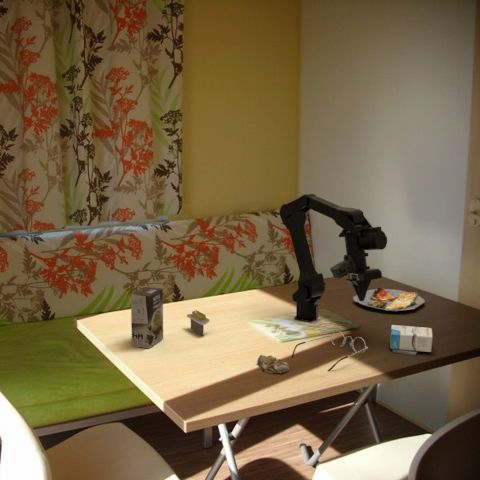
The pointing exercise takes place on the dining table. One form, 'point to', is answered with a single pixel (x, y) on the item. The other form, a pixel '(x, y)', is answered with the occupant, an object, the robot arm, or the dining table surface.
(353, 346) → the eyeglasses
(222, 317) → the dining table surface
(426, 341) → the ink box
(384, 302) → the food plate
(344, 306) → the dining table surface
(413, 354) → the mat
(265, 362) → the mineral rock
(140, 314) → the coffee box
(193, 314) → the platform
